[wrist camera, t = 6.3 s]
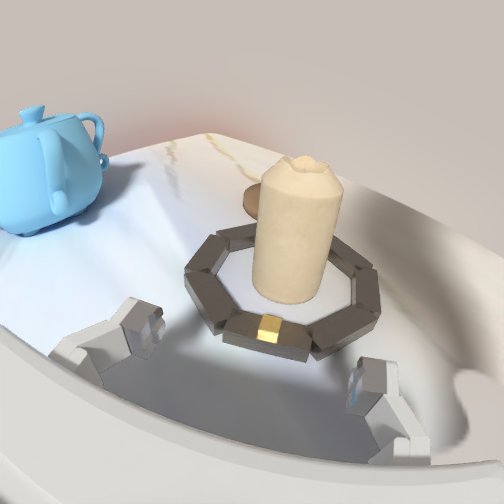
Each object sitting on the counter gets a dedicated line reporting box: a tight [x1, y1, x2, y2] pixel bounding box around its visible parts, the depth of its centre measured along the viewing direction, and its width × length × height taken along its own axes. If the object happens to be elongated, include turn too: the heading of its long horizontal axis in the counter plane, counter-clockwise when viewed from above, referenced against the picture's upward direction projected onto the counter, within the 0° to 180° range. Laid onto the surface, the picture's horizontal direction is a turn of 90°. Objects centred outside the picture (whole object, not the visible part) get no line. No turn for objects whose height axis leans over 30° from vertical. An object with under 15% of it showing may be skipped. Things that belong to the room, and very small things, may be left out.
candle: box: [252, 156, 343, 304], centre depth 21 cm, size 6×6×10 cm
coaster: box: [243, 183, 261, 220], centre depth 36 cm, size 11×11×1 cm
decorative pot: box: [0, 105, 109, 237], centre depth 27 cm, size 16×16×14 cm
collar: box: [184, 223, 381, 363], centre depth 24 cm, size 15×15×2 cm
